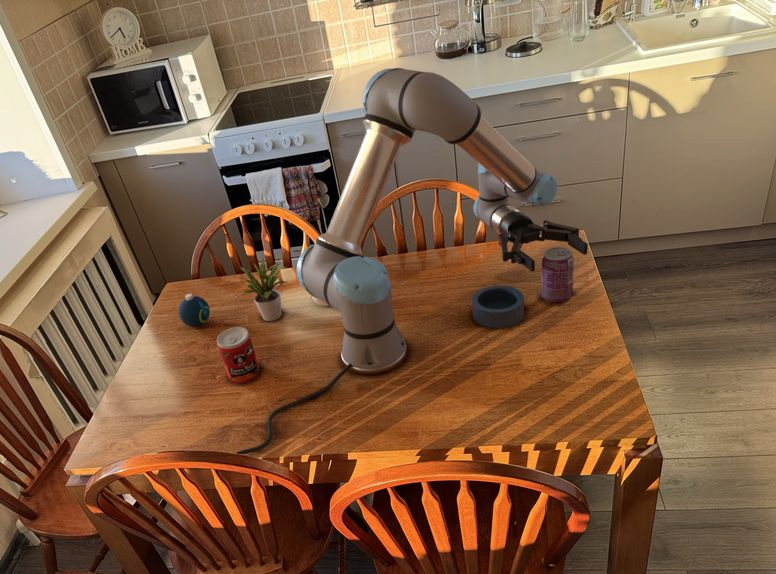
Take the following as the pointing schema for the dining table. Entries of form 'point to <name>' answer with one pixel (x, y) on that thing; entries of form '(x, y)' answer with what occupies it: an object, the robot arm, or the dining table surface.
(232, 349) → the canned food
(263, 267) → the house plant
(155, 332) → the dining table surface
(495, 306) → the dark grey bowl
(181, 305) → the christmas ornament
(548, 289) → the beverage can
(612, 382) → the dining table surface
